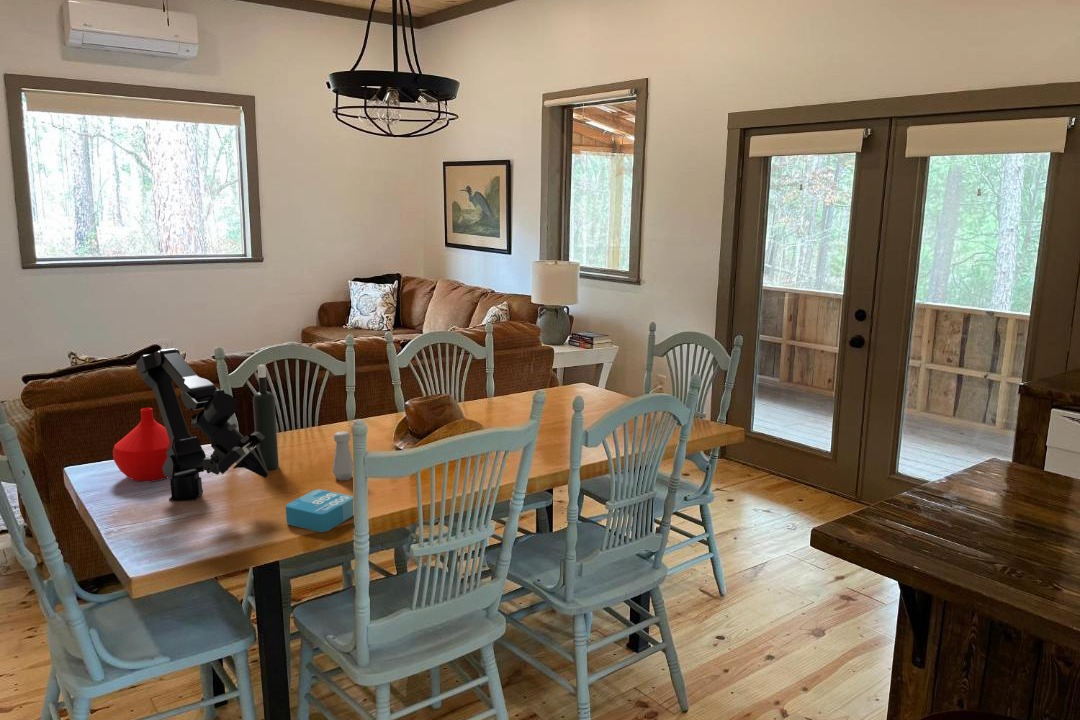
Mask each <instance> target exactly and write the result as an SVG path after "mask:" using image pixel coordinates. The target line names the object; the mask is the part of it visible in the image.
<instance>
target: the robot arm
mask: <svg viewBox="0 0 1080 720" xmlns="http://www.w3.org/2000/svg"><path fill="white" fill-rule="evenodd" d="M135 364H136V370H137V372H138V373H139V374H140V377H141V379H142V381H143V383H145V384H146V385H148V386H149V388H151V389H152V390H153V391H152V392H153V394H154V397H155V401H156V403H157V405H158V410H159V411H160V416H161V419H162V421H163V424H164V425H163V426H164V427H165V428H166V431H167V434H168V437H169V441H170V442H169V445H168V448H167V451H166V454H167V459H166V461H165V463H164V465H163V467H162V468H163V473H164V476H166V477H168V478H167V479H169V483H170V485H169V486H170V495H171V496H170V497H169V498H168V501H170V502H175V501H179V502H180V501H182V502H183V501H196V500H197V498H198V497H200V495H201V494H202V493H204V490H203V481H202V477H201V476H200V473H204V472H205V471H206V473H207V474H211V473H212V474H215V475H216V476H217V475H219V474H222V475H224V474H225V473H226V472H227V471H228V470H229V469H231V467H232V469H242V468H243V469H246V470H248V471H250V472H252V473H254V474H256V475H258V476H260V477H262V478H264V479H266V478H267V477H268V476H269V471H268V470H267V468H266V465H265V462H264V460H263V457H262V454H261V451H260V445H257V444H258V443H259V442H260V441H262V440H263V439H264V438H265V437H264V436H263V435H262V434H261V433H260V432H255V431H253V432H252V433H251V434H250V435H245V436H244V435H243V434H242V433H241V432H239V431H238V430H237V429H236V428H237V427H238V425H237V424H236V423H235V422H234V423H233V424H231V423H230V422H229V420H230V419H231V418H232V417H233V416H234V414H235V413H236V412H237V411H238V407H239V404H238V400H237V399H235V396H234V397H233V395H231V394H230V393H229V394H228V393H225V389H224V388H223V389H222V388H221V389H219V388H218V387H216V385H215V383H213V382H211V381H210V380H209V379H206V378H204V377H200V376H198V375H197V374H196V372H195V371H194V370H193V369H192V368H191V367H190V365H189V364H188V363H187V361H186V360H185V359H184V358H183V357H182V355H181V352H180V350H179V348H165V349H159V350H158V351H157V350H156V351H155V352H152V353H149V354H148V353H147V354H141V355H140V357H139V358H138V359H137V360H136V362H135ZM173 382H174V383H175V384H176V385H177V387H179V389H180V391H181V401H182V404H183V405H184V406H185V408H186V409H188V411H195V410H196V411H197V410H201V411H200V412H196V413H195V414H194V415H192V416H191V417H190V419H191V422H190V423H191V424H190V425H191V429H195V428H197V429H199V431H201V432H202V434H203V435H205V436H206V437H207V438H208V439H209V440H210V441H212V442H211V443H210V446H211V448H212V449H213V452H212V454H210V457H206V455H207V454H206V453H205V450H204V449H203V447H202V445H201V442H200V441H201V440H200V438H199V437H198V436H193V435H191V434H190V432H189V429H188V427H187V425H186V421H185V417H184V415H183V411H182V409H181V406H180V403H179V400H178V396H177V393H176V390H175V387H174V384H173ZM256 445H257V446H256ZM234 464H235V465H234ZM233 465H234V466H233Z"/></svg>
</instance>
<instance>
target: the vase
mask: <svg viewBox="0 0 1080 720" xmlns="http://www.w3.org/2000/svg"><path fill="white" fill-rule="evenodd" d="M153 409H154V408H152V407H144V408H141V409H140V415H141V416H140V421H139V423H138V424H137V426H135V427H134V428H133V429H132V430H131V431H129V432H128V433H127V434H126V435H125V436H123V437H122V438H121V439H120V440H119V441H118V442H117V443H115V444H114V447H113V448H112V457H113V461H114V463H115V464H116V466H117V468H118V470H119V471H120V472H121V473H122V474H124V476H126V477H127V478H129V479H131V480H132V481H135V482H139V481H151V482H157V481H161V479H162V480H164V478H165V479H168V478H167V477H166V476H164V473H163V468H162V467H163V465H164V463H165V461H166V459H167V454H166V451H167V448H168V445H169V442H170V441H169V437H168V434H167V431H166V428H165V425H162V423H161V424H160V423H159V422H157V420H155V418H154V411H153ZM156 480H157V481H156Z"/></svg>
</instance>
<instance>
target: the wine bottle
mask: <svg viewBox="0 0 1080 720" xmlns="http://www.w3.org/2000/svg"><path fill="white" fill-rule="evenodd" d="M266 367H267V366H266V364H259V365H257V377H258V388H259V391H258V392H256V393H255V394H253V397H252V408H253V409H252V410H253V420H254V421H253V422H254V432H260V433H261V434H262V435H263V436H264V437H265V438H264V439H263V440H262V441H260V442H259V443H258V444H257V445H260V451H261V454H262V457H263V460H264V462H265V465H266V468H267V470H268V472H272V471H275V470H278V469H279V468H280V464H279V449H278V433H277V419H276V418H277V417H276V399H275V396H274V394H273V393H272V392H271V391H268V390H267V389H268V388H267V387H268V386H267V369H266ZM257 445H256V446H257ZM256 446H255V447H256ZM277 468H278V469H277Z"/></svg>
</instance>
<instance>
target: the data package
mask: <svg viewBox="0 0 1080 720" xmlns="http://www.w3.org/2000/svg"><path fill="white" fill-rule="evenodd" d="M353 502H354V497H353V496H352V495H349V494H344V493H340V492H334V491H330V490H324V489H314V490H311V491H310V492H307V493H306V494H303V495H302V496H300V497H298V498H296V499H294V500H292V501H290V502H288V503H287V504H286V505H285V515H286V517H285V518H286V524H288V525H289V526H293V527H297V528H300V529H301V528H302V529H305V530H309V531H313V532H317V533H325V532H329V531H330V530H332V529H333V528H335V527H337V526H339V525H340V524H342V523H344V522H345V521H347V520H348V519H350V518H352V517H353V516H354V515H353Z"/></svg>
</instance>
